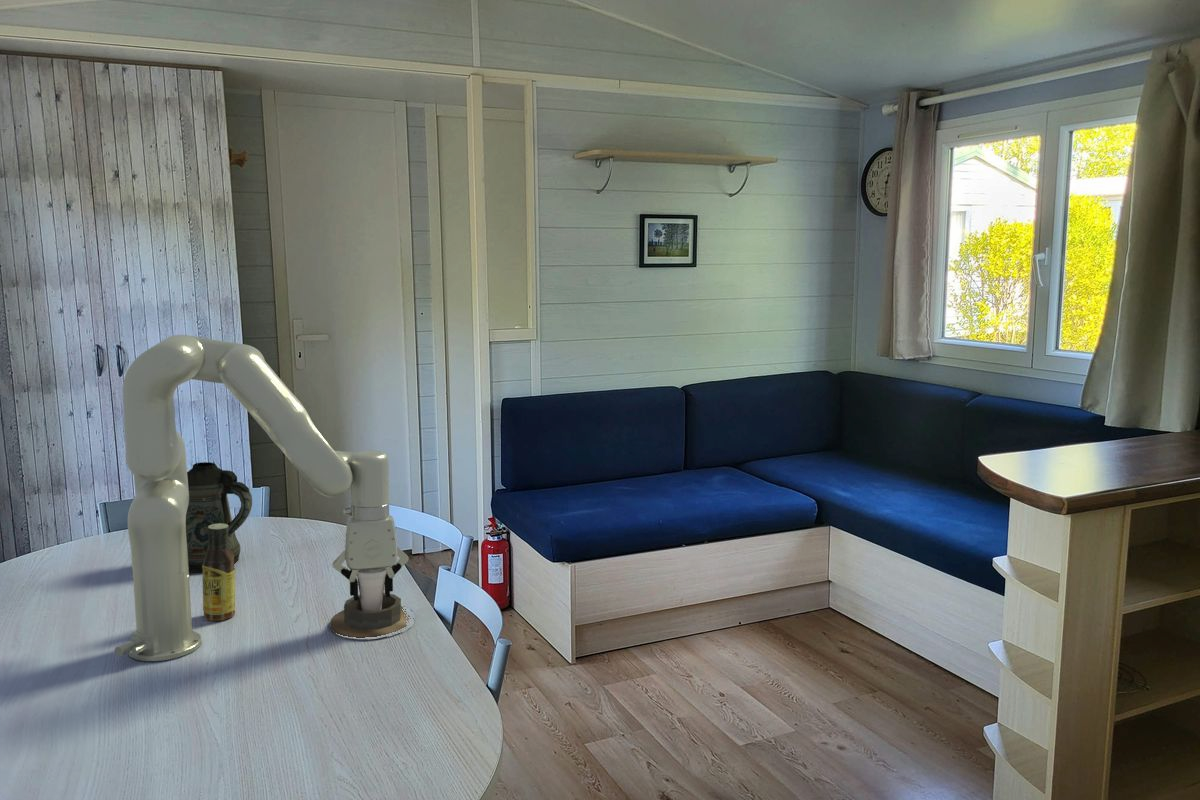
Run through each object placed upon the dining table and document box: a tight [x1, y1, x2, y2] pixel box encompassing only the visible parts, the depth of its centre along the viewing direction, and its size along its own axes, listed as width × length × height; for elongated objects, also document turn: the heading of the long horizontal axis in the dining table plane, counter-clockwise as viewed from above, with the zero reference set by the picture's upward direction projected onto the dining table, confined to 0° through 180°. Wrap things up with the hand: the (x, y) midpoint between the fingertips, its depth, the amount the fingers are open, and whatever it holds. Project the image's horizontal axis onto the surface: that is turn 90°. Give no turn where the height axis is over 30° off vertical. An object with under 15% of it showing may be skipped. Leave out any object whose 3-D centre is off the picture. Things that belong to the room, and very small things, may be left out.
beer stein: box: [186, 461, 253, 574], centre depth 219 cm, size 16×19×25 cm
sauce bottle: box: [201, 523, 236, 622], centre depth 185 cm, size 6×6×20 cm
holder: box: [329, 592, 414, 638], centre depth 184 cm, size 17×17×4 cm
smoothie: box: [356, 567, 387, 611], centre depth 183 cm, size 6×6×14 cm
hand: (371, 595), depth 184 cm, fingers closed on smoothie, 5 cm apart
